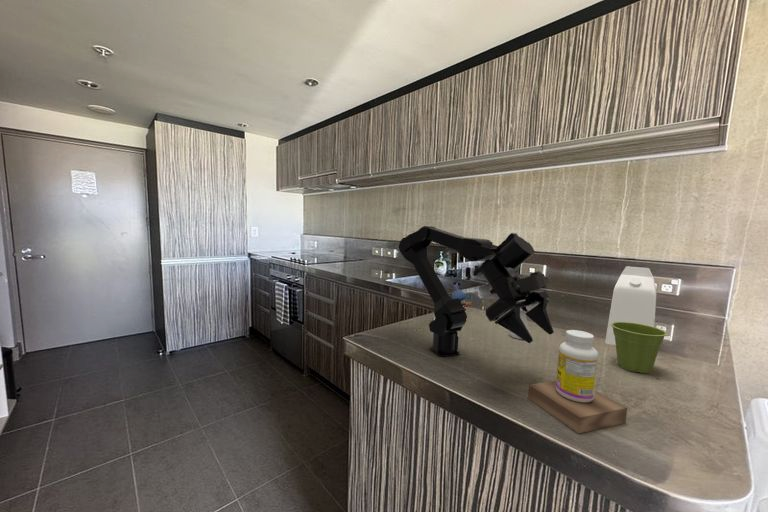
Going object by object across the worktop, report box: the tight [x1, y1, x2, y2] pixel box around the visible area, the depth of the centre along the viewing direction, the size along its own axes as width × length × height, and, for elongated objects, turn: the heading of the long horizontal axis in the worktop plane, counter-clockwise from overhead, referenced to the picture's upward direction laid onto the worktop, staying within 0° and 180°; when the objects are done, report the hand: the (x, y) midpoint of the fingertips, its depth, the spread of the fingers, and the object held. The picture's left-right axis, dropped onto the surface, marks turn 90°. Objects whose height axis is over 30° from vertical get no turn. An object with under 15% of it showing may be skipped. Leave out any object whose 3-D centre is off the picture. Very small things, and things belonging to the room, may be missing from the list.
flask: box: [508, 308, 533, 341], centre depth 106 cm, size 7×7×10 cm
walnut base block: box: [527, 380, 628, 434], centre depth 62 cm, size 12×12×3 cm
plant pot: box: [611, 322, 668, 374], centre depth 83 cm, size 12×12×11 cm
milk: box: [604, 265, 657, 346], centre depth 102 cm, size 12×12×26 cm
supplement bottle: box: [555, 329, 599, 403], centre depth 62 cm, size 7×7×13 cm
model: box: [451, 284, 473, 308], centre depth 151 cm, size 12×9×9 cm
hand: (541, 337), depth 68 cm, fingers open, 9 cm apart
